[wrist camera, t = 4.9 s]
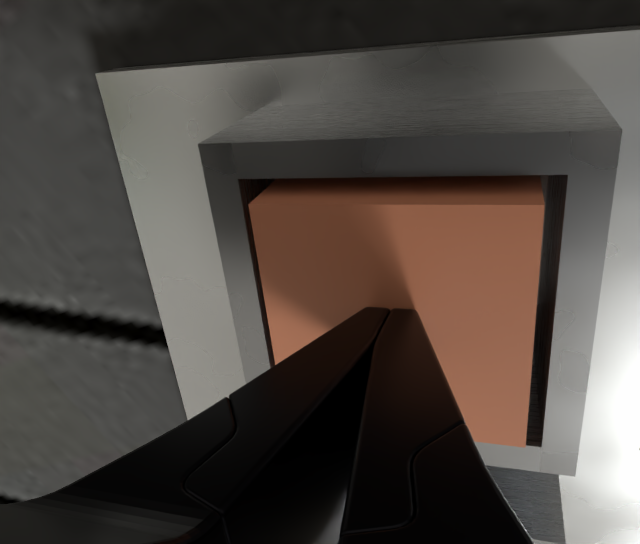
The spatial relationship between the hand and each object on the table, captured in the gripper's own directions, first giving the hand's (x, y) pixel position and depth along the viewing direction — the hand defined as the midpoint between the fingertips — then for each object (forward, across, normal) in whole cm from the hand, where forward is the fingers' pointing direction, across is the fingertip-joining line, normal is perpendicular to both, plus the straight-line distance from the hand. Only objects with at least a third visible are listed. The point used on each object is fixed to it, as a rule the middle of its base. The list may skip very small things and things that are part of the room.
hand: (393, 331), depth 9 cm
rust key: (+3, 0, 0) cm, 3 cm away
